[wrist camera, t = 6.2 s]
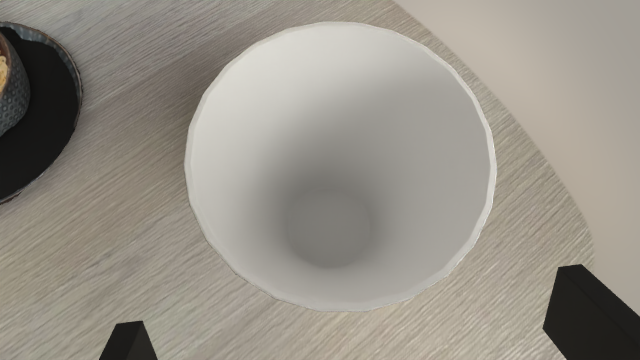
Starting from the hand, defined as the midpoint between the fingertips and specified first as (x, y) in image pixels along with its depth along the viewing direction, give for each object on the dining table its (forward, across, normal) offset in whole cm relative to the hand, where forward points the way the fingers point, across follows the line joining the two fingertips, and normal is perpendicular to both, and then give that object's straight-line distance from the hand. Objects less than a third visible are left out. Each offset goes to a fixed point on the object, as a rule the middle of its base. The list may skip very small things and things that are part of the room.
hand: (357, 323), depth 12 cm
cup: (+13, 0, -5) cm, 14 cm away
